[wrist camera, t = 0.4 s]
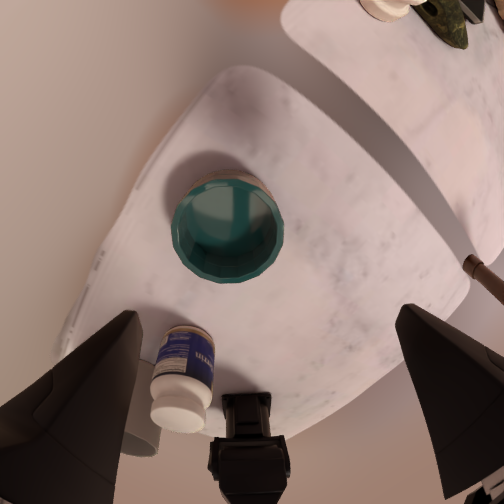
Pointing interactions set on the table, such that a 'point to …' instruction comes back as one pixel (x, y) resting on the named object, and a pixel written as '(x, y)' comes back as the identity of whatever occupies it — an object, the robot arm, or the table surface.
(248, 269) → the bowl
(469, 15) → the external hard drive
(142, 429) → the cup
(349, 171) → the table surface
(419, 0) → the decorative finial
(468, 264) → the stick
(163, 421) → the pill bottle
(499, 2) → the model
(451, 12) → the decorative stone
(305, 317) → the table surface
